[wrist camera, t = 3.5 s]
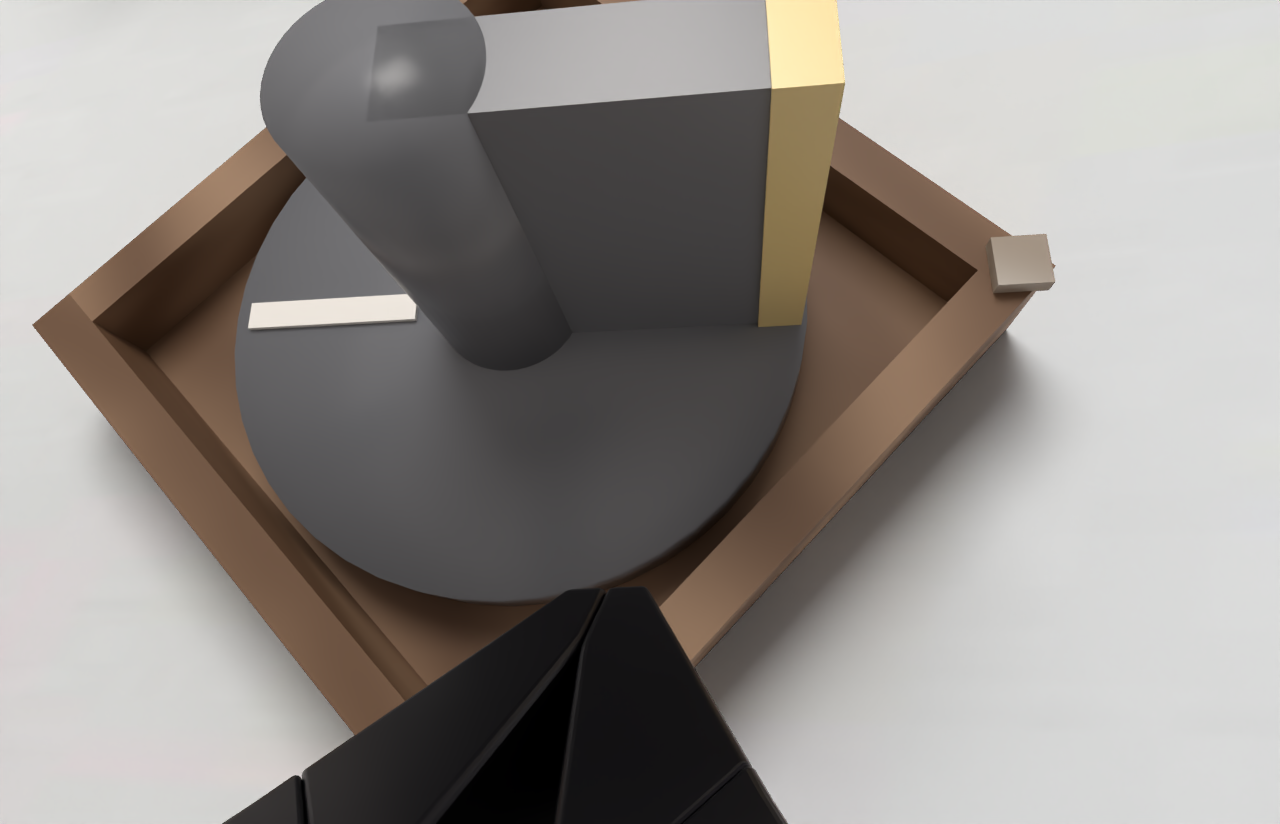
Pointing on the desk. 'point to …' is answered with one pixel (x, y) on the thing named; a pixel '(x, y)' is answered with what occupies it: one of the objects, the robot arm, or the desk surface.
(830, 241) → the dial base
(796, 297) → the knob
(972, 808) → the desk surface
